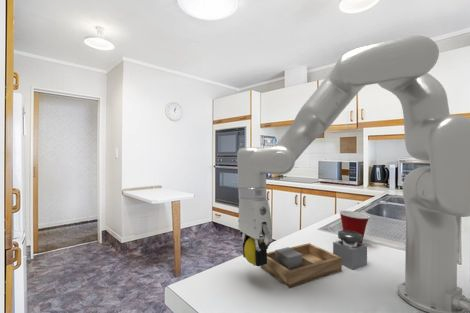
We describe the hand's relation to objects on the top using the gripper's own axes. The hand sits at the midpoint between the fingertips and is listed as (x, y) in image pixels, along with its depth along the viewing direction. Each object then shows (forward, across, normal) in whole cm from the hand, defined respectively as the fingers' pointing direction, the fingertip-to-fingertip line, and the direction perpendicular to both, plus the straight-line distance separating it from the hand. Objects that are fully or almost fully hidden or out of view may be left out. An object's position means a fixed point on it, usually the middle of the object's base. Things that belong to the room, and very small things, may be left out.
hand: (254, 259), depth 65 cm
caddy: (+6, 0, -16) cm, 17 cm away
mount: (+7, -4, -33) cm, 34 cm away
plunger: (+6, -4, -33) cm, 34 cm away
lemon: (+2, 0, 0) cm, 2 cm away
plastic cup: (+8, +6, -49) cm, 50 cm away
